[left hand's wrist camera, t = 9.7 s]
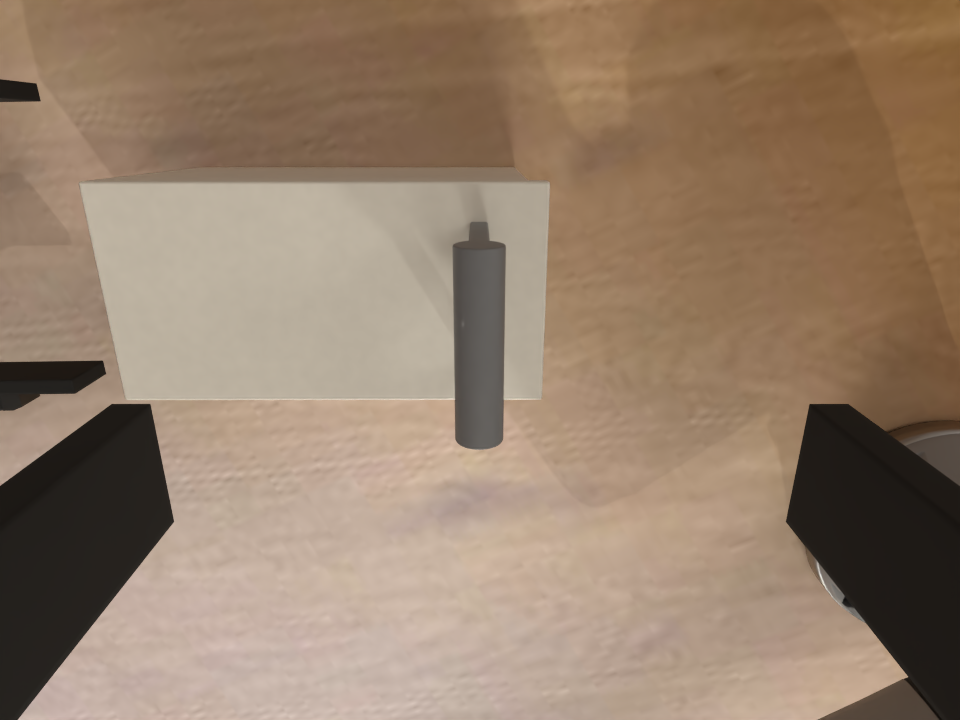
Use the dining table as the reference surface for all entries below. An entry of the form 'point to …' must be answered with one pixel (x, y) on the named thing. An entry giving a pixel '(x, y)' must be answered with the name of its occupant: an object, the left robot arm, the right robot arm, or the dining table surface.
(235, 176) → the chest
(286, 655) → the dining table surface
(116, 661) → the dining table surface
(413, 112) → the dining table surface
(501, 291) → the lid
